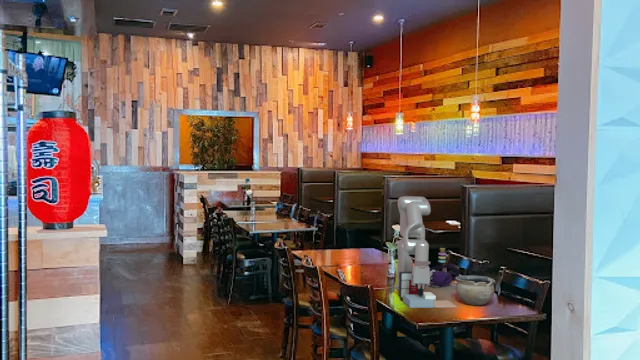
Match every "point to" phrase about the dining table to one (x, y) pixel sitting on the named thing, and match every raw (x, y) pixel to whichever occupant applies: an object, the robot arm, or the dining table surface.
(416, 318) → the dining table surface
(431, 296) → the tile
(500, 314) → the dining table surface
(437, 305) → the mat
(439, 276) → the decorative bottle
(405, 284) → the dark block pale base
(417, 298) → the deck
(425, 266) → the robot arm
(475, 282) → the ceramic bowl
